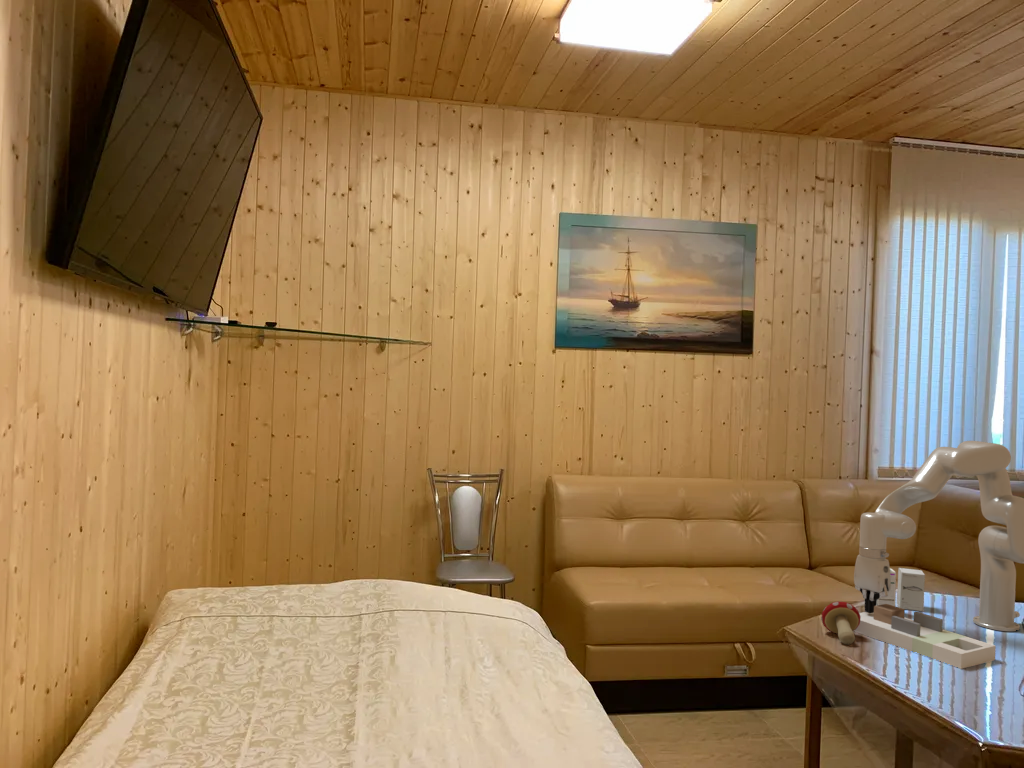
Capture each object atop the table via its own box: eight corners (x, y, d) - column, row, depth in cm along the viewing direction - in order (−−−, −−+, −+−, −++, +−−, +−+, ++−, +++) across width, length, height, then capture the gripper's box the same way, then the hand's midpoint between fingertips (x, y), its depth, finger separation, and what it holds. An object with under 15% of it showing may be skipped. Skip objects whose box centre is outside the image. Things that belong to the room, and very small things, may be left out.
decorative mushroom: (857, 619, 219) (846, 588, 233) (820, 634, 223) (811, 602, 237) (876, 648, 221) (864, 615, 235) (839, 662, 225) (830, 629, 239)
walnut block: (886, 616, 238) (886, 603, 238) (904, 622, 233) (904, 609, 233) (873, 619, 235) (873, 606, 235) (891, 624, 230) (891, 611, 230)
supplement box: (899, 609, 261) (900, 571, 261) (896, 603, 268) (898, 567, 268) (923, 612, 259) (925, 574, 259) (920, 606, 266) (921, 569, 266)
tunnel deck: (878, 621, 246) (879, 598, 246) (995, 660, 215) (996, 633, 215) (845, 628, 238) (846, 604, 238) (960, 668, 207) (962, 641, 207)
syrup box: (895, 615, 253) (897, 571, 253) (876, 614, 254) (878, 570, 254) (890, 610, 259) (892, 567, 259) (871, 609, 260) (873, 566, 260)
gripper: (902, 557, 235) (900, 617, 235) (859, 547, 248) (857, 604, 248) (886, 559, 231) (884, 620, 231) (843, 549, 244) (841, 606, 245)
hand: (870, 611), depth 240 cm, fingers closed
